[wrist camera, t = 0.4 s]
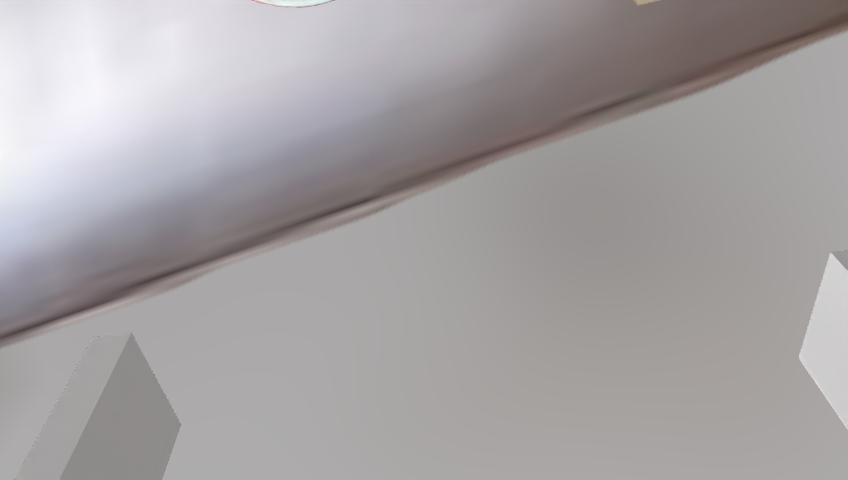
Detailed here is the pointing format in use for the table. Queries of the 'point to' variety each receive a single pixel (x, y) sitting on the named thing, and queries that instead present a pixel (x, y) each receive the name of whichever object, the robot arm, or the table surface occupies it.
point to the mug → (293, 2)
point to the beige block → (643, 1)
